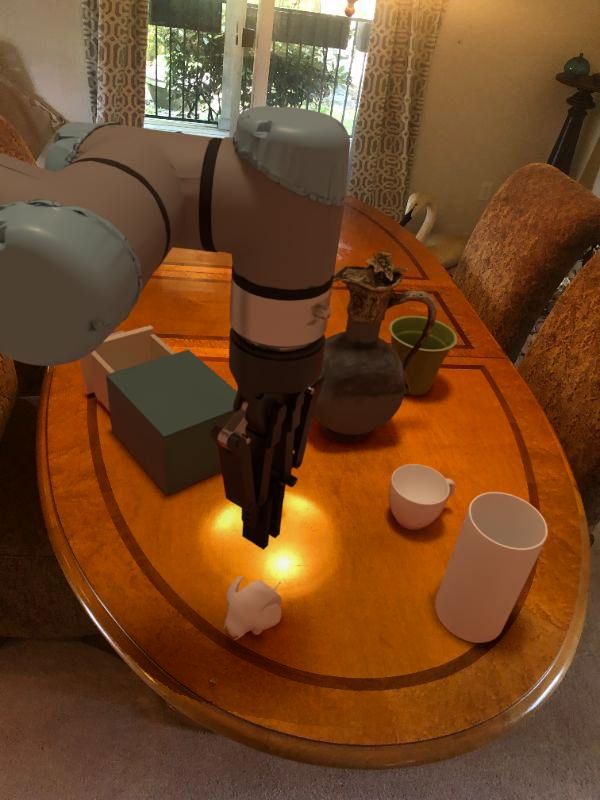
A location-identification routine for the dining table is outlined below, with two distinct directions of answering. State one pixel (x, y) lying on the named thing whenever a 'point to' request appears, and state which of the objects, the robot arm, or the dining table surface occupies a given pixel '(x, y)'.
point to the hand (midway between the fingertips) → (261, 534)
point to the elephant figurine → (252, 608)
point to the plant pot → (421, 350)
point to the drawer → (120, 358)
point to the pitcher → (366, 354)
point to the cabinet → (170, 417)
